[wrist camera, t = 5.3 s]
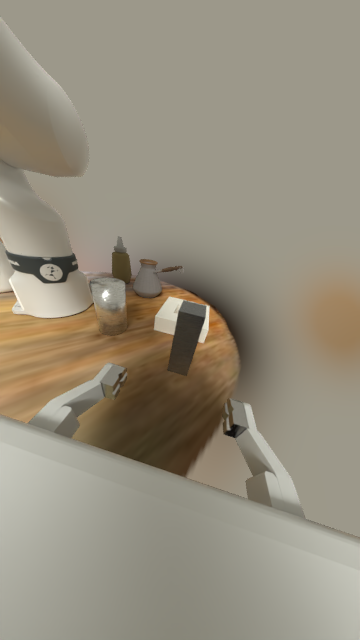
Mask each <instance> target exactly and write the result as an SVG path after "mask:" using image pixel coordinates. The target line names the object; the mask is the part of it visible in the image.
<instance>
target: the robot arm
mask: <svg viewBox="0 0 360 640" xmlns="http://www.w3.org/2000/svg"><path fill="white" fill-rule="evenodd" d="M88 163H89V146H88V141H87V136H86V133H85V130H84V127H83V124H82V122H81V119H80V117H79V115H78V113H77V111H76V109H75V108H74V106H73V104H72V102H71V101H70V99H69V97H68V96H67V94H66V93H65V92H64V90H63V89H62V88H61V86H60V85H59V84H58V83H57V82H56V81H55V80H54V79H53V78H52V77H50V76H49V74H48V73H46V71H45V70H44V69H43V68H42V67H41V66H40V65H39V64H38V63H37V62H36V61H35V59H34V58H33V57H32V56H31V55H30V53H29V52H28V51H27V50H26V49H25V48H24V46H23V45H22V44H21V43H20V41H19V40H18V39H17V38H16V36H15V35H14V34H13V32H12V31H11V30H10V29H9V27H8V26H7V25H6V23H5V22H4V21H3V19H2V18H1V17H0V237H1V239H2V241H3V243H4V245H5V247H6V249H7V250H6V251H5V253H6V255H7V259H8V261H9V262H10V264H11V266H12V268H13V269H14V270H15V273H14V274H13V275H12V276H11V278H10V279H9V282H10V285H11V287H12V289H13V291H14V293H15V295H16V297H17V299H18V300H17V302H16V303H15V305H14V306H13V308H12V311H13V313H15V314H28V315H32V316H35V317H42V318H57V317H64V316H69V315H73V314H77V313H79V312H82V311H84V310H86V309H87V308H88V307H89V306H90V305H91V304H92V303H94V300H93V296H92V293H91V291H90V287H89V284H88V280H87V277H86V275H84V274H83V273H81V272H80V271H79V270H78V264H77V259H76V257H75V254H74V253H72V249H71V245H70V241H69V237H68V233H67V229H66V225H65V221H64V219H63V218H62V216H61V215H60V213H59V212H58V211H57V210H56V209H55V208H54V207H52V206H51V205H50V204H48V203H47V202H45V201H43V200H42V199H41V198H40V197H39V196H38V195H37V194H36V192H35V191H34V190H33V189H32V187H31V185H30V184H29V182H28V180H27V178H26V176H25V174H24V171H23V170H28V171H32V172H36V173H40V174H45V175H49V176H54V177H81V176H83V175H84V174H85V172H86V170H87V167H88ZM126 372H127V368H125V367H122V366H118V365H115V364H112V363H107V364H106V365H105V366H104V367H103V368H102V370H101V371H100V372H99V373H98V374H97V376H96V377H95V378H94V379H93V380H89V381H87V382H85V383H84V384H82V385H80V386H78V387H76V388H74V389H72V390H70V391H68V392H66V393H64V394H62V395H60V396H58V397H56V398H54V399H52V400H51V401H50V402H49V403H48V404H47V405H46V406H45V407H44V408H43V409H42V410H41V411H40V412H39V413H37V414H36V415H35V416H34V417H33V418H32V419H31V420H30V421H29V422H28V423H25V422H22V421H19V420H16V419H13V418H10V417H7V416H5V415H2V414H0V640H360V537H357V536H354V535H351V534H349V533H345V532H342V531H340V530H336V529H334V528H331V527H328V526H325V525H322V524H319V523H316V522H314V521H311V520H307V519H306V518H305V515H304V513H303V510H302V507H301V504H300V501H299V498H298V495H297V492H296V489H295V487H294V484H293V481H292V479H291V477H290V475H289V474H288V473H287V471H286V470H285V468H284V467H283V465H282V464H281V463H280V461H279V460H278V458H277V457H276V455H275V454H274V452H273V451H272V449H271V448H270V447H269V445H268V444H267V442H266V441H265V439H264V438H263V437H262V435H261V434H260V432H258V431H257V428H256V424H255V420H254V416H253V413H252V409H251V406H250V405H249V404H247V403H244V402H241V401H237V400H234V399H230V398H228V399H227V403H224V405H223V408H222V417H223V418H224V420H225V421H224V422H223V432H224V434H225V435H227V436H230V437H233V438H236V442H237V444H238V446H239V448H240V450H241V452H242V454H243V456H244V458H245V460H246V462H247V464H248V467H249V469H250V471H251V473H252V475H253V477H251V478H249V479H247V480H246V488H247V495H248V499H246V498H244V497H241V496H238V495H235V494H232V493H229V492H226V491H223V490H220V489H217V488H214V487H212V486H209V485H206V484H203V483H200V482H197V481H194V480H191V479H188V478H185V477H182V476H179V475H177V474H174V473H171V472H168V471H165V470H162V469H159V468H156V467H153V466H150V465H147V464H144V463H142V462H139V461H136V460H133V459H130V458H127V457H124V456H121V455H118V454H115V453H112V452H110V451H107V450H104V449H101V448H98V447H95V446H92V445H89V444H86V443H83V442H80V441H77V440H75V439H72V436H73V435H74V433H75V432H76V430H77V429H78V428H79V426H80V423H79V421H78V420H77V417H78V416H80V415H81V414H82V413H84V412H85V411H86V410H88V409H89V408H91V407H92V406H93V405H95V404H96V403H98V402H99V401H100V400H102V399H103V398H104V397H106V398H110V399H113V400H115V399H116V397H117V396H118V394H119V392H120V388H121V387H122V386H124V384H125V382H126V380H127V373H126Z"/></svg>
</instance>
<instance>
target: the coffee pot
mask: <svg viewBox="0 0 360 640" xmlns="http://www.w3.org/2000/svg"><path fill="white" fill-rule="evenodd" d="M140 262H141V268H140V271H139V273H138V275H137V277H136V280H135V282H134V284H133V289H134V291H135V292H136V293H137V294H138V295H139V296H141V297H144V298H154V297H156V296H157V295H158V294H160V293H161V291H162V287H161V284H160V281H159V278H158V275H157V273H159V272H168V271H173V270H177V269H181V268H183V267H182V266H178V267H177V266H175V267H169V268H165V269H162V270H156V269H155V267H156V264H157V262H156V261H153V260H146V259H141V260H140ZM183 269H184V268H183ZM183 271H184V270H183ZM179 272H180V270H179ZM180 273H181V272H180Z"/></svg>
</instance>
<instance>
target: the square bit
mask: <svg viewBox="0 0 360 640" xmlns="http://www.w3.org/2000/svg"><path fill="white" fill-rule="evenodd" d="M206 307H207V306H205V305H201V304H197V303H193V302H189V301H185V300H183V302H182V305H181V307H180V309H179V311H178V317H177V322H176V327H175V333H174V338H173V343H172V349H171V354H170V360H169V365H168V371H171V372H175V373H178V374H182V375H185V376H187V373H188V370H189V367H190V364H191V361H192V358H193V355H194V352H195V349H196V346H197V343H198V340H199V336H200V333H201V330H202V327H203V324H204V321H205V318H206Z"/></svg>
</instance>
